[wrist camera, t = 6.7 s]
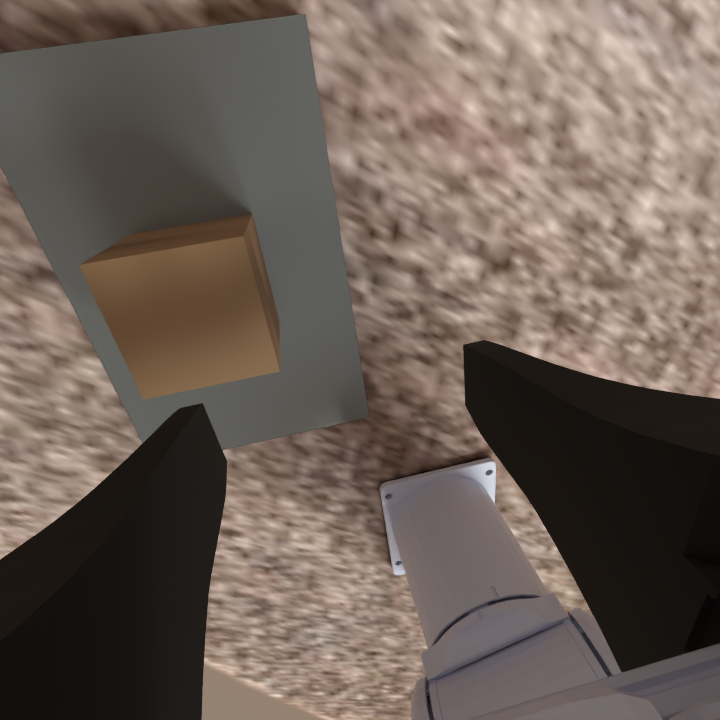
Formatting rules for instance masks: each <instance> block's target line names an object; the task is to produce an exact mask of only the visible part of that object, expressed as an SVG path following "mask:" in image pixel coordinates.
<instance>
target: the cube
mask: <svg viewBox="0 0 720 720" xmlns="http://www.w3.org/2000/svg"><path fill="white" fill-rule="evenodd" d="M79 267H80V269H81V271H82V273H83V275H84V277H85V279H86V281H87V283H88V285H89V288H90V290H91V292H92V294H93V296H94V298H95V300H96V302H97V304H98V306H99V308H100V311H101V313H102V315H103V317H104V319H105V321H106V323H107V325H108V327H109V329H110V331H111V334H112V336H113V338H114V340H115V342H116V344H117V346H118V348H119V350H120V352H121V354H122V357H123V359H124V361H125V363H126V365H127V367H128V369H129V371H130V373H131V375H132V377H133V380H134V382H135V384H136V386H137V388H138V390H139V392H140V394H141V396H142V398H143V400H145V399H149V398H154V397H159V396H164V395H169V394H174V393H178V392H183V391H188V390H193V389H198V388H203V387H207V386H212V385H217V384H222V383H227V382H232V381H237V380H241V379H246V378H251V377H256V376H261V375H266V374H270V373H275V372H280V321H279V317H278V313H277V309H276V305H275V301H274V297H273V293H272V289H271V286H270V282H269V278H268V274H267V270H266V266H265V262H264V258H263V254H262V250H261V246H260V242H259V238H258V234H257V230H256V226H255V222H254V218H253V214H247V215H241V216H235V217H229V218H223V219H217V220H211V221H206V222H200V223H194V224H188V225H182V226H176V227H170V228H164V229H159V230H153V231H147V232H141V233H135V234H130V235H129V236H127V237H125V238H124V239H122V240H120V241H119V242H117V243H115V244H113V245H112V246H110V247H108V248H107V249H105V250H103V251H102V252H100V253H98V254H96V255H95V256H93V257H91V258H90V259H88V260H86V261H85V262H83V263H81V264H80V265H79Z"/></svg>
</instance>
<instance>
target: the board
mask: <svg viewBox="0 0 720 720" xmlns="http://www.w3.org/2000/svg"><path fill="white" fill-rule="evenodd" d="M0 166H1V168H2V170H3V172H4V174H5V176H6V178H7V180H8V182H9V184H10V185H11V187H12V189H13V191H14V193H15V195H16V197H17V199H18V201H19V203H20V205H21V207H22V209H23V211H24V213H25V215H26V217H27V219H28V221H29V223H30V224H31V226H32V228H33V230H34V232H35V234H36V236H37V238H38V240H39V242H40V244H41V246H42V248H43V250H44V252H45V254H46V256H47V258H48V260H49V261H50V263H51V265H52V267H53V269H54V271H55V273H56V275H57V277H58V279H59V281H60V283H61V285H62V287H63V289H64V291H65V293H66V295H67V297H68V298H69V300H70V302H71V304H72V306H73V308H74V310H75V312H76V314H77V316H78V318H79V320H80V322H81V324H82V326H83V328H84V330H85V332H86V334H87V335H88V337H89V339H90V341H91V343H92V345H93V347H94V349H95V351H96V353H97V355H98V357H99V359H100V361H101V363H102V365H103V367H104V369H105V371H106V373H107V374H108V376H109V378H110V380H111V382H112V384H113V386H114V388H115V390H116V392H117V394H118V396H119V398H120V400H121V402H122V404H123V406H124V408H125V410H126V411H127V413H128V415H129V417H130V419H131V421H132V423H133V425H134V427H135V429H136V431H137V433H138V435H139V437H140V439H141V441H142V443H144V442H145V441H146V440H147V439H148V438H149V437H150V436H151V435H152V434H153V433H154V432H155V431H156V430H157V429H158V428H159V427H160V426H161V425H162V424H163V423H164V422H165V421H166V420H167V419H168V418H169V417H170V416H171V415H172V414H173V413H174V412H175V411H177V410H178V409H179V408H182V407H187V406H191V405H196V404H200V403H203V405H204V407H205V410H206V412H207V414H208V417H209V419H210V422H211V424H212V427H213V429H214V431H215V434H216V436H217V439H218V441H219V443H220V446H221V448H222V450H225V449H229V448H234V447H238V446H243V445H247V444H252V443H256V442H261V441H265V440H270V439H274V438H279V437H283V436H288V435H292V434H297V433H301V432H306V431H310V430H315V429H319V428H324V427H328V426H333V425H337V424H342V423H346V422H351V421H355V420H360V419H364V418H369V412H368V406H367V400H366V393H365V387H364V381H363V374H362V368H361V362H360V355H359V349H358V343H357V336H356V330H355V324H354V317H353V311H352V305H351V299H350V292H349V286H348V280H347V273H346V267H345V261H344V254H343V248H342V242H341V235H340V229H339V223H338V216H337V210H336V204H335V198H334V191H333V185H332V179H331V172H330V166H329V160H328V153H327V147H326V141H325V134H324V128H323V122H322V115H321V109H320V103H319V97H318V90H317V84H316V78H315V71H314V65H313V59H312V52H311V46H310V40H309V33H308V27H307V21H306V14H300V15H292V16H284V17H277V18H269V19H261V20H254V21H246V22H238V23H231V24H223V25H215V26H208V27H200V28H192V29H184V30H177V31H169V32H161V33H154V34H146V35H138V36H131V37H123V38H115V39H108V40H100V41H92V42H85V43H77V44H69V45H62V46H54V47H46V48H39V49H31V50H23V51H16V52H8V53H0ZM247 214H253V218H254V222H255V226H256V230H257V234H258V238H259V242H260V246H261V250H262V254H263V258H264V262H265V266H266V270H267V274H268V278H269V282H270V286H271V289H272V293H273V297H274V301H275V305H276V309H277V313H278V317H279V321H280V372H275V373H270V374H266V375H261V376H256V377H251V378H246V379H241V380H237V381H232V382H227V383H222V384H217V385H212V386H207V387H203V388H198V389H193V390H188V391H183V392H178V393H174V394H169V395H164V396H159V397H154V398H149V399H145V400H143V398H142V396H141V394H140V392H139V390H138V388H137V386H136V384H135V382H134V380H133V377H132V375H131V373H130V371H129V369H128V367H127V365H126V363H125V361H124V359H123V357H122V354H121V352H120V350H119V348H118V346H117V344H116V342H115V340H114V338H113V336H112V334H111V331H110V329H109V327H108V325H107V323H106V321H105V319H104V317H103V315H102V313H101V311H100V308H99V306H98V304H97V302H96V300H95V298H94V296H93V294H92V292H91V290H90V288H89V285H88V283H87V281H86V279H85V277H84V275H83V273H82V271H81V269H80V267H79V265H80V264H81V263H83V262H85V261H86V260H88V259H90V258H91V257H93V256H95V255H96V254H98V253H100V252H102V251H103V250H105V249H107V248H108V247H110V246H112V245H113V244H115V243H117V242H119V241H120V240H122V239H124V238H125V237H127V236H129V235H130V234H135V233H141V232H147V231H153V230H159V229H164V228H170V227H176V226H182V225H188V224H194V223H200V222H206V221H211V220H217V219H223V218H229V217H235V216H241V215H247Z"/></svg>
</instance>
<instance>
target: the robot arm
mask: <svg viewBox="0 0 720 720" xmlns="http://www.w3.org/2000/svg"><path fill="white" fill-rule="evenodd" d="M463 350H464V379H465V405H466V407H467V409H468V411H469V413H470V415H471V417H472V419H473V421H474V423H475V425H476V426H477V428H478V430H479V432H480V434H481V435H482V436H483V438H484V439H485V441H486V442H487V443H488V445H489V446H490V448H491V449H492V450H493V452H494V453H495V455H496V456H497V457H498V459H499V460H500V461H501V463H502V464H503V465H504V467H505V468H506V469H507V471H508V472H509V474H510V475H511V476H512V478H513V479H514V480H515V482H516V483H517V484H518V486H519V487H520V488H521V490H522V491H523V493H524V494H525V495H526V497H527V498H528V500H529V501H530V503H531V504H532V506H533V507H534V509H535V510H536V512H537V514H538V516H539V517H540V519H541V521H542V522H543V524H544V526H545V528H546V529H547V531H548V533H549V534H550V536H551V538H552V539H553V541H554V543H555V545H556V547H557V548H558V550H559V552H560V554H561V556H562V557H563V559H564V561H565V563H566V565H567V566H568V568H569V570H570V572H571V574H572V576H573V577H574V579H575V581H576V583H577V585H578V587H579V589H580V591H581V593H582V595H583V596H584V598H585V600H586V602H587V604H588V606H589V608H590V610H591V612H592V614H593V615H591V614H589V613H586V612H584V611H583V610H582V609H580V608H575V609H573V610H572V611H570V612H568V615H569V616H568V615H567V613H566V611H565V610H564V608H563V607H562V605H561V603H560V602H559V600H558V598H557V597H556V595H555V594H554V593H550V594H549V593H548V591H547V589H546V588H545V586H544V584H543V583H542V581H541V580H540V578H539V576H538V575H537V573H536V571H535V570H534V568H533V566H532V565H531V563H530V561H529V560H528V558H527V556H526V555H525V553H524V551H523V550H522V548H521V547H520V545H519V543H518V542H517V540H516V538H515V537H514V535H513V533H512V532H511V530H510V528H509V527H508V525H507V523H506V522H505V520H504V518H503V517H502V515H501V513H500V512H499V510H498V509H497V507H496V505H495V481H496V463H495V461H494V460H493V459H492V458H485V459H481V460H477V461H472V462H468V463H464V464H460V465H456V466H451V467H447V468H443V469H439V470H435V471H430V472H426V473H422V474H418V475H414V476H409V477H405V478H401V479H397V480H393V481H388V482H385V483H383V484H382V485H381V486H380V495H381V501H382V508H383V514H384V520H385V526H386V533H387V539H388V545H389V551H390V558H391V564H392V570H393V573H394V574H395V575H402V574H406V577H407V580H408V583H409V587H410V590H411V593H412V597H413V600H414V603H415V607H416V610H417V614H418V617H419V620H420V624H421V627H422V630H423V634H424V637H425V640H426V644H427V647H428V650H426V651H424V652H422V653H421V658H422V661H423V665H424V669H425V672H426V676H427V677H425V678H421V679H419V680H418V681H417V682H416V685H415V691H414V696H413V700H412V705H411V718H412V720H720V399H716V398H708V397H700V396H692V395H685V394H678V393H672V392H666V391H660V390H653V389H648V388H643V387H638V386H633V385H629V384H624V383H620V382H615V381H611V380H607V379H603V378H599V377H595V376H591V375H588V374H584V373H581V372H578V371H574V370H571V369H568V368H565V367H562V366H559V365H555V364H552V363H550V362H547V361H544V360H541V359H538V358H535V357H533V356H530V355H527V354H524V353H522V352H519V351H516V350H513V349H511V348H508V347H505V346H502V345H499V344H496V343H493V342H489V341H485V340H483V341H479V342H474V343H470V344H465V345H463ZM487 470H488V471H487ZM226 478H227V460H226V458H225V456H224V453H223V451H222V448H221V446H220V443H219V441H218V439H217V436H216V434H215V431H214V429H213V427H212V424H211V422H210V419H209V417H208V414H207V412H206V410H205V407H204V405H203V403H200V404H196V405H191V406H187V407H182V408H179V409H178V410H177V411H175V412H174V413H173V414H172V415H171V416H170V417H169V418H168V419H167V420H166V421H165V422H164V423H163V424H162V425H161V426H160V427H159V428H158V429H157V430H156V431H155V432H154V433H153V434H152V435H151V436H150V437H149V438H148V439H147V440H146V441H145V442H144V443H143V444H142V445H141V446H140V447H139V448H138V449H137V450H135V451H134V452H133V453H132V454H131V455H130V456H129V457H128V458H127V459H126V460H125V461H124V462H123V463H122V464H121V465H120V466H119V467H118V468H117V469H115V470H114V471H113V472H112V473H111V474H110V475H109V476H108V477H107V478H106V479H105V480H103V481H102V482H101V483H100V484H99V485H98V486H97V487H96V488H95V489H94V490H92V491H91V492H90V493H89V494H88V495H87V496H85V497H84V498H83V499H82V500H81V501H79V502H78V503H77V504H76V505H74V506H73V507H72V508H71V509H69V510H68V511H67V512H66V513H64V514H63V515H62V516H60V517H59V518H58V519H57V520H55V521H54V522H53V523H51V524H50V525H49V526H47V527H46V528H45V529H43V530H42V531H41V532H39V533H38V534H36V535H35V536H33V537H32V538H31V539H29V540H28V541H26V542H25V543H23V544H22V545H21V546H19V547H18V548H16V549H15V550H13V551H12V552H11V553H9V554H8V555H6V556H5V557H3V558H2V559H1V560H0V720H201V716H202V686H203V667H204V649H205V632H206V619H207V606H208V594H209V587H210V580H211V573H212V568H213V562H214V557H215V552H216V546H217V541H218V535H219V530H220V525H221V519H222V513H223V508H224V502H225V496H226ZM387 494H389V495H387Z"/></svg>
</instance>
